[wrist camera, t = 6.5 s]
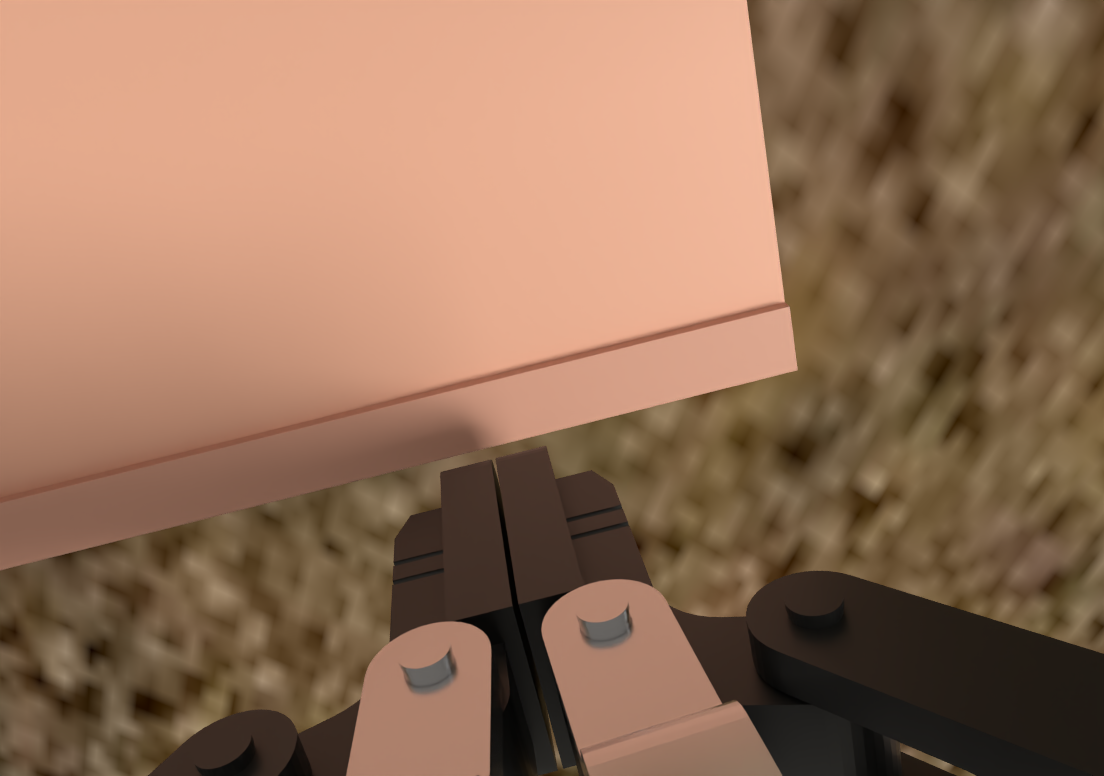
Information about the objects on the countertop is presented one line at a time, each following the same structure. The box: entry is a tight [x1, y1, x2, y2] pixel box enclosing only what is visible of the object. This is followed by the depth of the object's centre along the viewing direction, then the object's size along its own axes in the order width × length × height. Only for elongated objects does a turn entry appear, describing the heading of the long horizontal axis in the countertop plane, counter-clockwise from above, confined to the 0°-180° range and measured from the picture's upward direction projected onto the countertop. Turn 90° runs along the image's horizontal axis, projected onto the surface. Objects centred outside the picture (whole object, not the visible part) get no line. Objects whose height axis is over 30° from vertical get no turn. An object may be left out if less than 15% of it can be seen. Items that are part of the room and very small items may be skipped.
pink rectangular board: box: [0, 0, 797, 570], centre depth 13 cm, size 19×1×9 cm
